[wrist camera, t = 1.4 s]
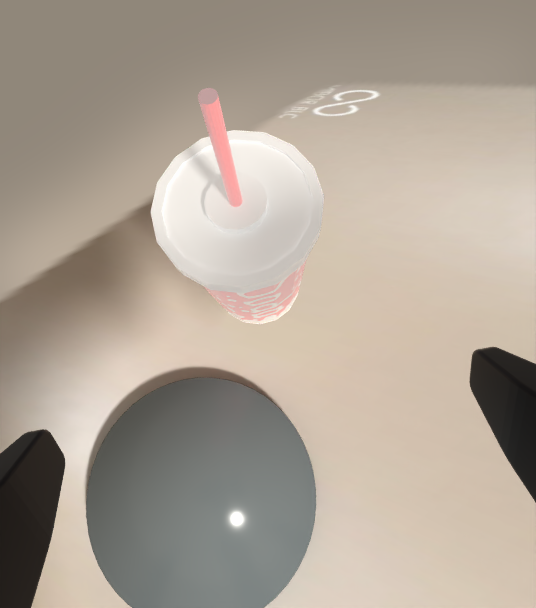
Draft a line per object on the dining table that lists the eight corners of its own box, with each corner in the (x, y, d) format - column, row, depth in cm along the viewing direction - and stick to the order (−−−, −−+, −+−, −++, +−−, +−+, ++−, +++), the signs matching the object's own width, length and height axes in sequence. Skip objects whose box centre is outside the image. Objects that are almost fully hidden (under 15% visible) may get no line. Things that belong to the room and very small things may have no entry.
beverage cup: (205, 342, 22) (70, 228, 9) (202, 238, 24) (85, 9, 10) (318, 333, 22) (356, 201, 9) (307, 229, 24) (326, -18, 10)
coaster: (272, 663, 18) (271, 674, 17) (56, 566, 20) (47, 573, 19) (342, 419, 21) (344, 419, 20) (146, 351, 22) (141, 349, 22)
